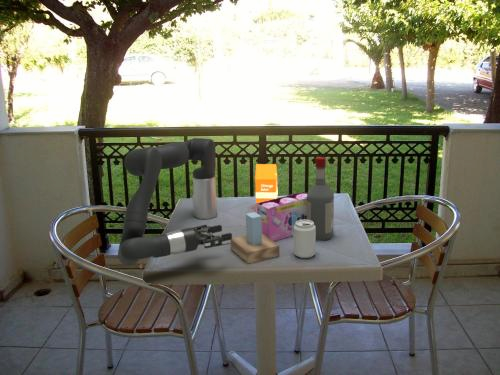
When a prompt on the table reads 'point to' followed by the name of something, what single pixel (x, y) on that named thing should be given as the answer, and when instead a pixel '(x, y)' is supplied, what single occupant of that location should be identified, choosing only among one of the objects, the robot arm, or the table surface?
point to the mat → (233, 233)
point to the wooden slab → (254, 249)
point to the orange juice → (266, 182)
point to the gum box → (282, 215)
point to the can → (304, 238)
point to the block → (254, 228)
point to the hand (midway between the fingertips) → (226, 231)
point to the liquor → (321, 203)
